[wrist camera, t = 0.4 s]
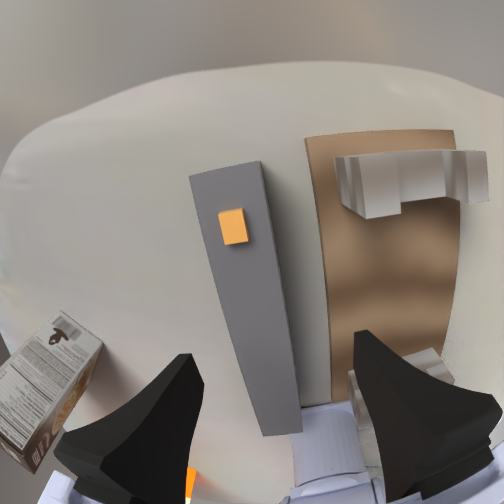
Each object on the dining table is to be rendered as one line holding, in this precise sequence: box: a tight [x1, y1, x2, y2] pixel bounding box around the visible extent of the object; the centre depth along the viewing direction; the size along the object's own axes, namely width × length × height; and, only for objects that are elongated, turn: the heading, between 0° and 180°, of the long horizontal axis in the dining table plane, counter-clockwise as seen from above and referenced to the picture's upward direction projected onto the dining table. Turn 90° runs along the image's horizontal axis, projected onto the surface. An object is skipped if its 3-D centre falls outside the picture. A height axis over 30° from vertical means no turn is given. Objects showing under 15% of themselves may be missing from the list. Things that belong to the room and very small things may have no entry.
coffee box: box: [0, 311, 103, 474], centre depth 17 cm, size 9×6×16 cm
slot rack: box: [304, 130, 489, 431], centre depth 17 cm, size 24×12×6 cm, turn 11°
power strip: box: [189, 161, 303, 436], centre depth 19 cm, size 22×4×6 cm, turn 11°
